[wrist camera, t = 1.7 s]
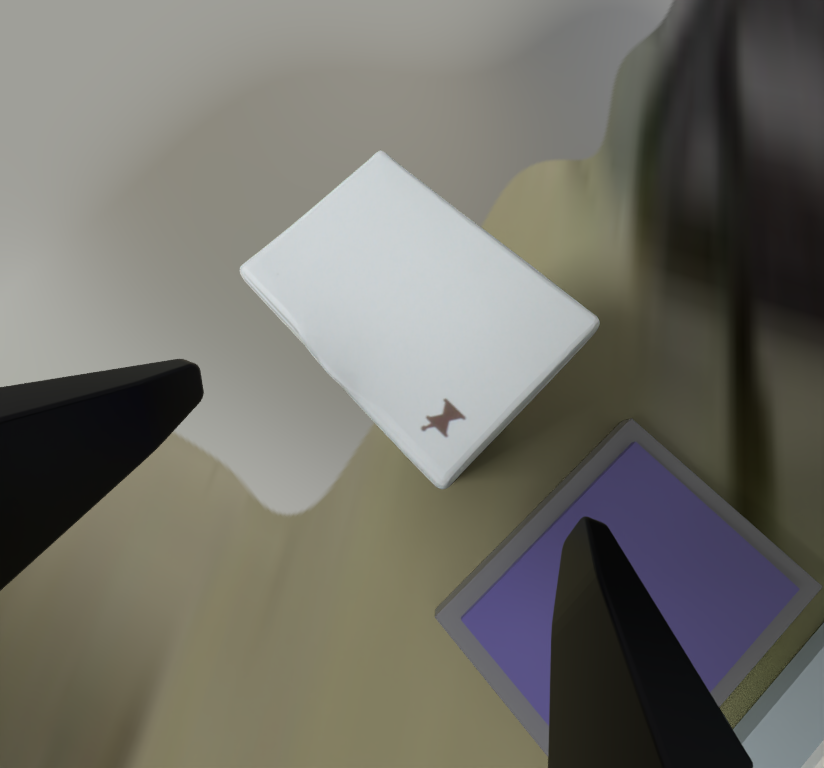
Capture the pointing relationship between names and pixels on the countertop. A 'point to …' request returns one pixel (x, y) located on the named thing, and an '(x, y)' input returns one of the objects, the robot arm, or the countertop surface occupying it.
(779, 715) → the board
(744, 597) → the ink pad
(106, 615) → the countertop surface
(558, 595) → the robot arm
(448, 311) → the skincare box
